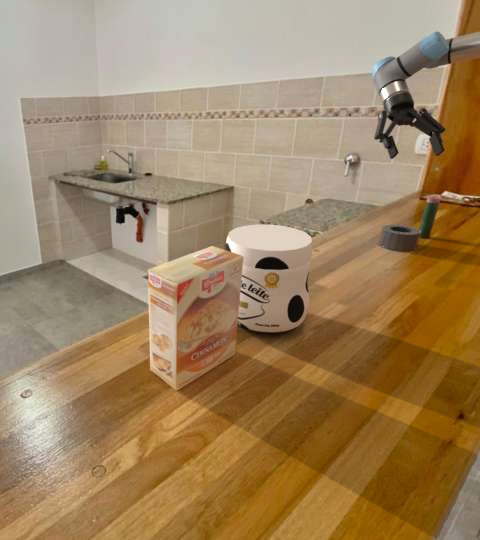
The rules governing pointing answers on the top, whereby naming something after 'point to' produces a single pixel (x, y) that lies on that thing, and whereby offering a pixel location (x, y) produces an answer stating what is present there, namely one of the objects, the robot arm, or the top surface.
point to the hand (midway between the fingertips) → (417, 154)
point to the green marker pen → (429, 216)
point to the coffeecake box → (193, 314)
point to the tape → (399, 237)
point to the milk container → (272, 276)
